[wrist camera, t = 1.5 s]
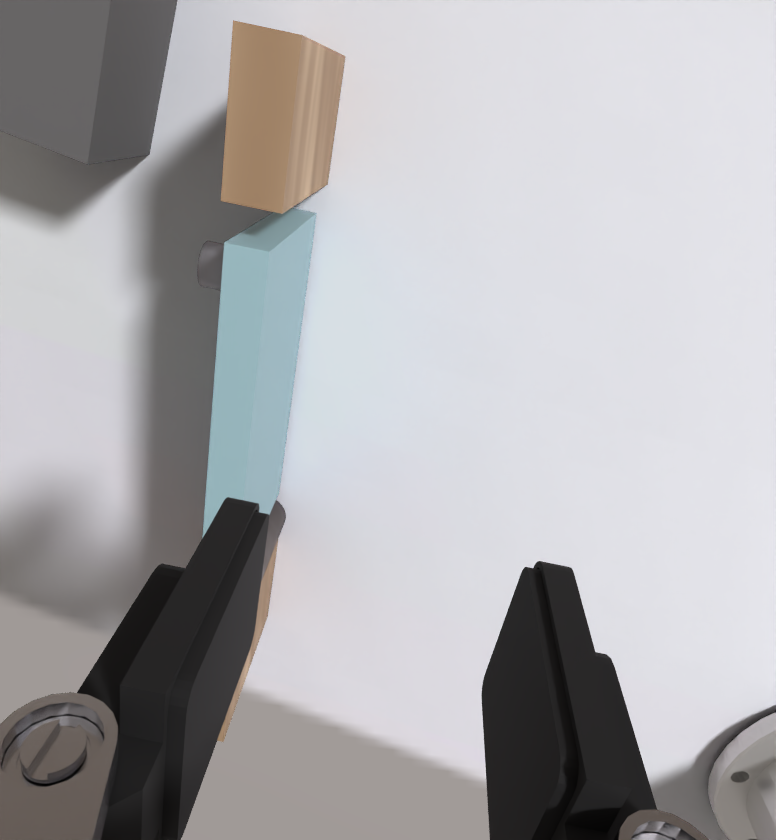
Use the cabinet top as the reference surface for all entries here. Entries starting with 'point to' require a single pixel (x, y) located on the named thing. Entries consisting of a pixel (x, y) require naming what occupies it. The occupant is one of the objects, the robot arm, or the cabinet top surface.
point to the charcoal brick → (84, 74)
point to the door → (255, 354)
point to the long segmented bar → (276, 168)
